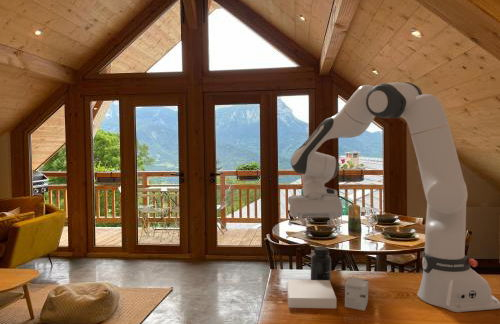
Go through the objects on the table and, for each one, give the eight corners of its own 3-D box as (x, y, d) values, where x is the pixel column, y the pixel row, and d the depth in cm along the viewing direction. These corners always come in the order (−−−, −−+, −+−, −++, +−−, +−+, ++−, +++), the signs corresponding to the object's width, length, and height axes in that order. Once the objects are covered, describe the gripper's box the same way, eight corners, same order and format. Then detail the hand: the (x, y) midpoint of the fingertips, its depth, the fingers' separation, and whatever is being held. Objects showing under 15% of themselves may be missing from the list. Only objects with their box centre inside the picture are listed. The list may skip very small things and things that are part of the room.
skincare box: (344, 307, 118) (344, 283, 117) (348, 299, 123) (348, 276, 123) (365, 311, 115) (365, 286, 115) (368, 302, 121) (368, 279, 120)
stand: (329, 289, 131) (329, 280, 131) (336, 308, 117) (336, 298, 117) (286, 288, 132) (286, 279, 131) (288, 307, 118) (288, 297, 117)
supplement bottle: (330, 286, 133) (331, 251, 132) (310, 285, 134) (310, 250, 133) (330, 279, 140) (331, 245, 139) (311, 277, 141) (311, 244, 140)
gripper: (288, 190, 155) (289, 221, 146) (341, 190, 154) (345, 221, 145) (287, 199, 159) (288, 229, 150) (339, 199, 158) (343, 230, 149)
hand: (317, 225), depth 148 cm, fingers open, 8 cm apart
